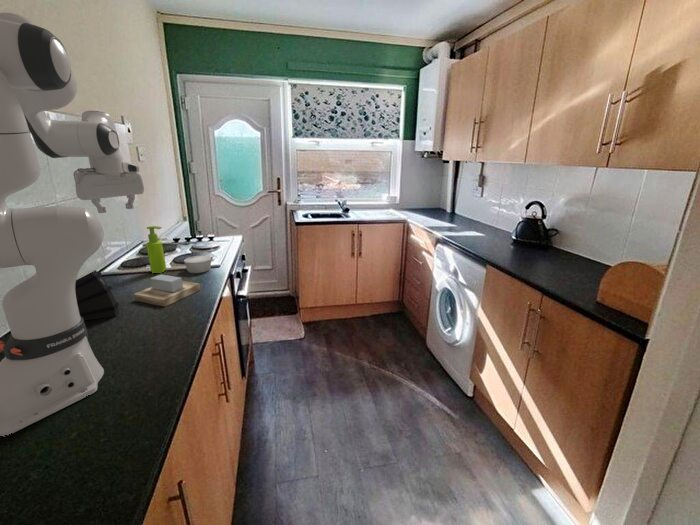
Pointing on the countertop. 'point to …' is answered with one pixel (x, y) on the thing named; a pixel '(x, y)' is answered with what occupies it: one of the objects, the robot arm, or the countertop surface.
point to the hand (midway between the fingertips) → (116, 210)
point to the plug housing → (166, 283)
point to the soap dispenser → (155, 252)
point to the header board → (166, 294)
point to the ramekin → (198, 264)
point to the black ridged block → (95, 297)
